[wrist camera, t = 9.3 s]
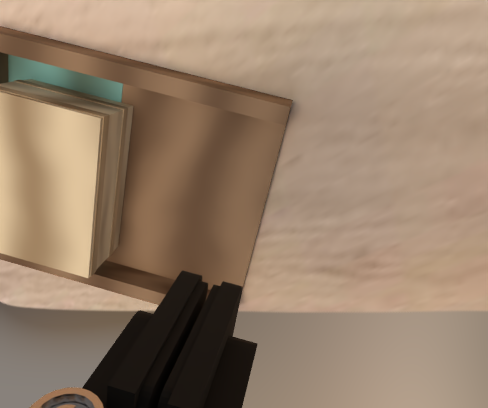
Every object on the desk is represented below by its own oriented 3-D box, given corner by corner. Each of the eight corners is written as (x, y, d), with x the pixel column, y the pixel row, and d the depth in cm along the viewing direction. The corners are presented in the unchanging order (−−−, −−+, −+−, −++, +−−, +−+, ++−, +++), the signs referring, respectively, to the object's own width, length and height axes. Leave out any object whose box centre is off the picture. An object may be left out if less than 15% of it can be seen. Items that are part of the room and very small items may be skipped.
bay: (292, 100, 29) (290, 107, 26) (238, 303, 36) (232, 326, 33) (0, 26, 30) (-31, 25, 27) (4, 237, 37) (-20, 253, 34)
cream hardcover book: (134, 105, 30) (101, 117, 25) (118, 246, 34) (88, 279, 30) (29, 78, 30) (-21, 85, 25) (29, 221, 35) (-14, 249, 30)
